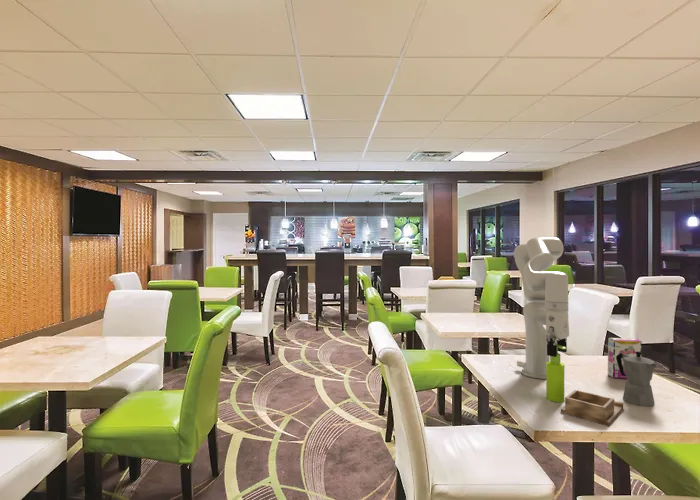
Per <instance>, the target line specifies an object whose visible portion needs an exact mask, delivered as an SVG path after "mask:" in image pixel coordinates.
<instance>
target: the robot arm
mask: <svg viewBox="0 0 700 500" xmlns="http://www.w3.org/2000/svg"><path fill="white" fill-rule="evenodd" d="M563 253H564V244H563V242H562V240H561V239H560V238H559V237H533V238H530V239H529V240H528V241H527V242H526V243H522V244H519V245H517V246H516V247H515V248H514V254H513V255H514V261H515V264H516V265H515V266H516V267H517V269H518V271H519V273H520V275H521V282H522V288H523V293H524V294H523V295H524V297H525V300H527V301H528V303H526V304H524V305H523V307H522V308H523V311H522V313H523V314H522V315H523V320H524V329H525V330H524V332H525V361H519V360H517V361H516V366H517V367H519V368H522V369H521V373H522V375H524V376H525V377H529V378H533V379H538V380H546V362H549V361H550V356H553V357H557V345H561V346H564V347H566V348H568V347H567V346H568V345H567V341H568V339H567V338H568V337H570V325H569V323H570V321H569V276H568V274H567V273H565V272H562V271H553V270H552V271H550V270H549V271H548V269H550V267H552V266H553V264H554V262H555V261H557V260H558V259H559V258H561V256H562V255H563ZM546 270H547V271H546ZM544 326H545V327H544ZM567 351H568V349H564V350H562V349H560V348H558V352H561V353H567Z"/></svg>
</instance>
